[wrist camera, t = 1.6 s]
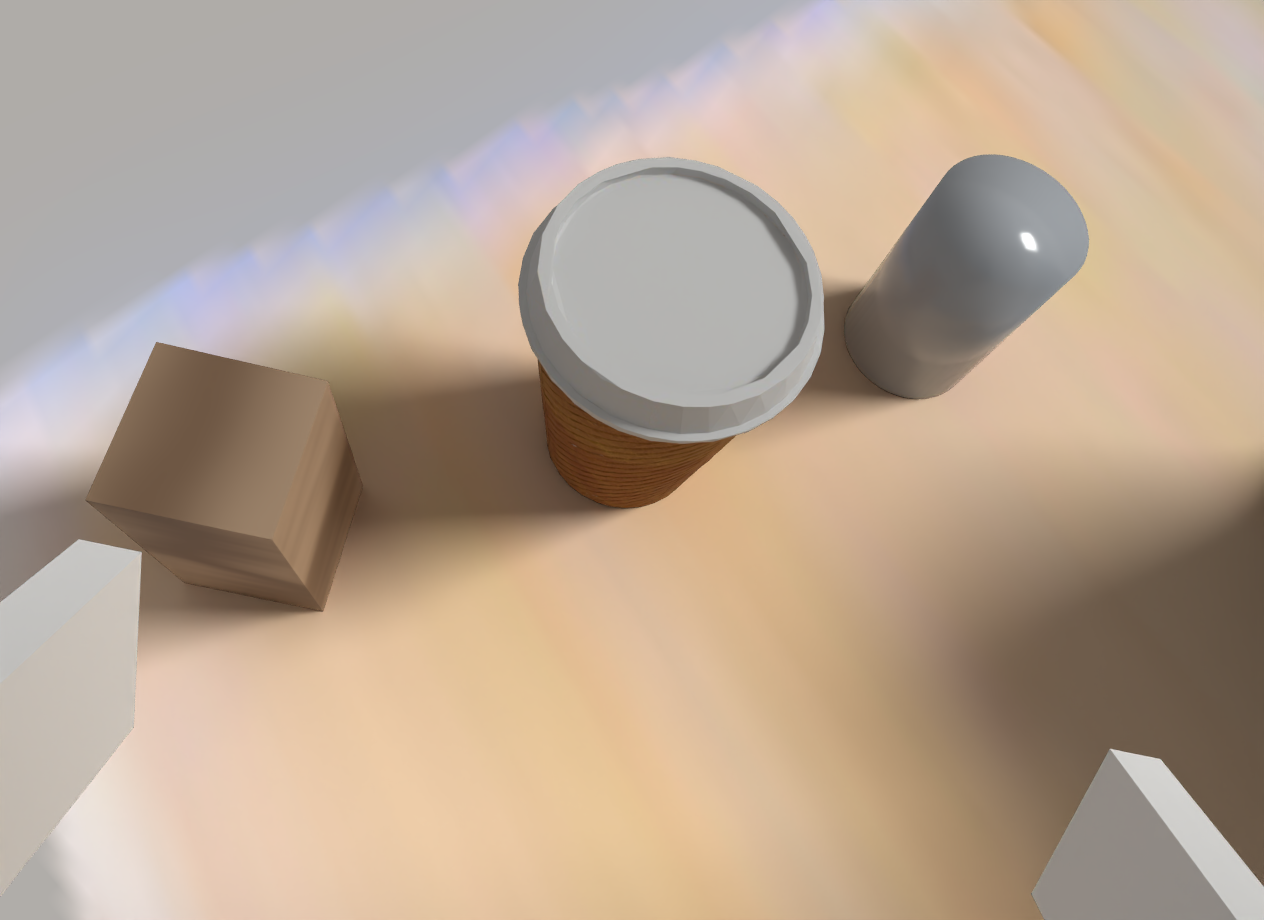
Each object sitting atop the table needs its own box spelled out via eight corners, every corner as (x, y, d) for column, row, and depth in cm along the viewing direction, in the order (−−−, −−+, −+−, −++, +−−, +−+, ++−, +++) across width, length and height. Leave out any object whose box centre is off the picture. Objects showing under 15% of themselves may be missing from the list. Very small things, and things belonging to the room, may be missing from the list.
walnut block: (362, 486, 35) (327, 381, 27) (322, 611, 33) (271, 539, 25) (232, 457, 34) (156, 342, 26) (184, 582, 32) (85, 499, 24)
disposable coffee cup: (457, 433, 36) (449, 263, 25) (615, 297, 40) (669, 95, 29) (629, 596, 35) (701, 491, 24) (778, 439, 38) (899, 286, 27)
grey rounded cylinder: (969, 301, 43) (1086, 176, 35) (966, 412, 41) (1091, 306, 32) (849, 271, 42) (939, 138, 34) (838, 382, 40) (933, 266, 32)
